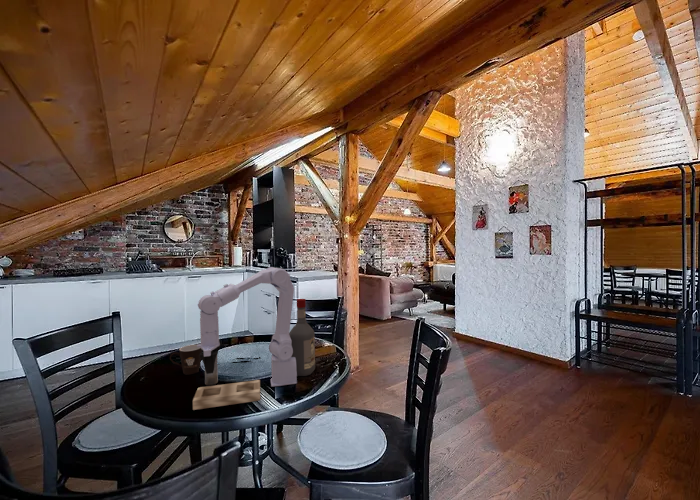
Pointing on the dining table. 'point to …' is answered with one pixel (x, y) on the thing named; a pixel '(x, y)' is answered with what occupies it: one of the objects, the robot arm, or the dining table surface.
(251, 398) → the block
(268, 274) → the robot arm
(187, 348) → the coffee mug
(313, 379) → the dining table surface
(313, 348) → the liquor
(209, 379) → the drill rod
